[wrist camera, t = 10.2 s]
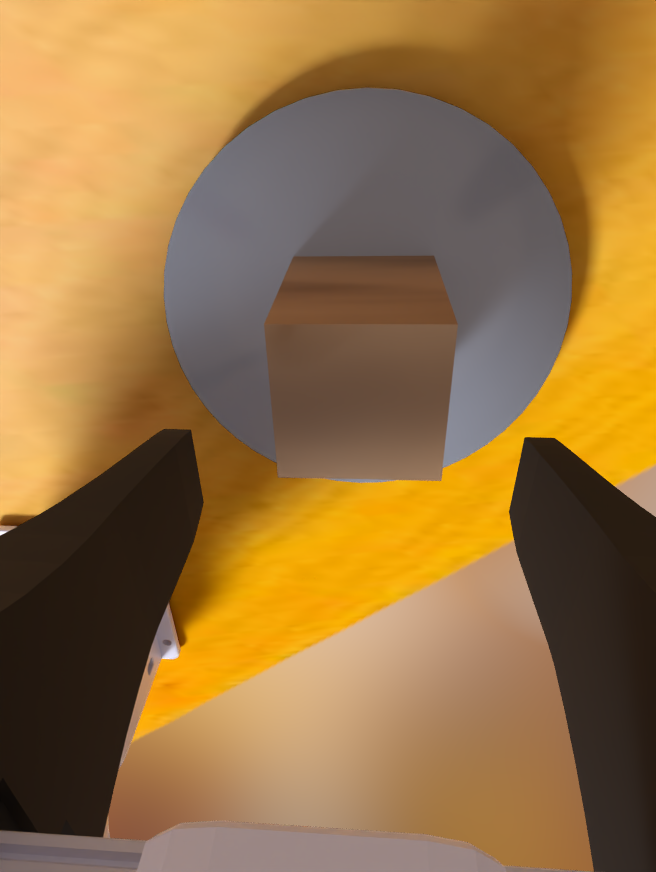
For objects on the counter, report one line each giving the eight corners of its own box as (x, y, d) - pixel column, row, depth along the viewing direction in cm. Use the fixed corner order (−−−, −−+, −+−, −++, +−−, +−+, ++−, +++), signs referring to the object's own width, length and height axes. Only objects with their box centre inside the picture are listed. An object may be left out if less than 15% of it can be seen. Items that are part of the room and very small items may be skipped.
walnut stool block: (424, 381, 21) (441, 480, 16) (300, 380, 21) (278, 477, 16) (434, 255, 18) (458, 324, 13) (293, 256, 18) (263, 324, 13)
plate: (523, 470, 24) (530, 487, 23) (202, 461, 25) (194, 478, 24) (607, 83, 16) (622, 84, 15) (139, 90, 17) (125, 91, 16)
